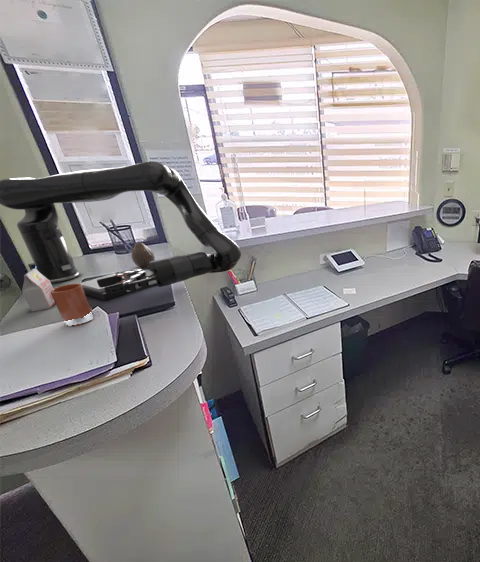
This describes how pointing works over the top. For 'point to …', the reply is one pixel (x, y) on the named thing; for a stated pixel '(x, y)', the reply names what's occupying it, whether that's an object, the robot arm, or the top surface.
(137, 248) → the brown coconut
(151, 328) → the top surface
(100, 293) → the scale
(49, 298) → the milk carton
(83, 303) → the cup
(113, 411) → the top surface
